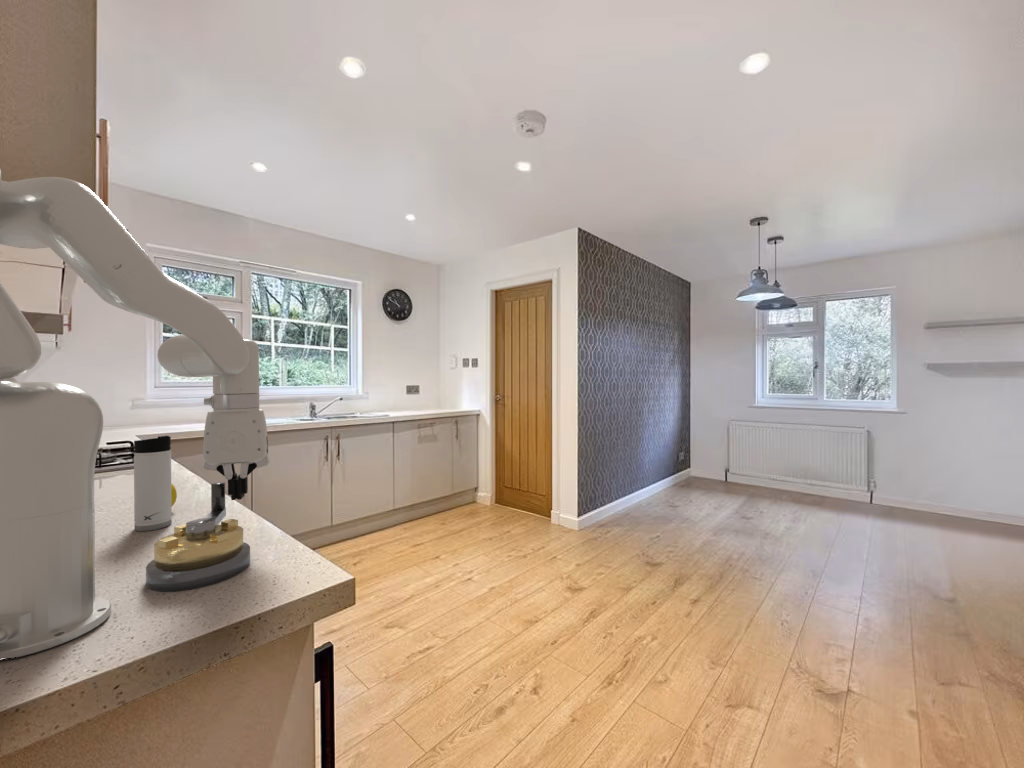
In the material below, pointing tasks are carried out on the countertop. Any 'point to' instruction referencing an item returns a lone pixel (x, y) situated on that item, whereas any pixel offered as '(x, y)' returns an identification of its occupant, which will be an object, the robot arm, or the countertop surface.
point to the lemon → (173, 495)
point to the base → (196, 574)
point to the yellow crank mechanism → (201, 538)
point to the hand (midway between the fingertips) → (238, 497)
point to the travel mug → (152, 483)
